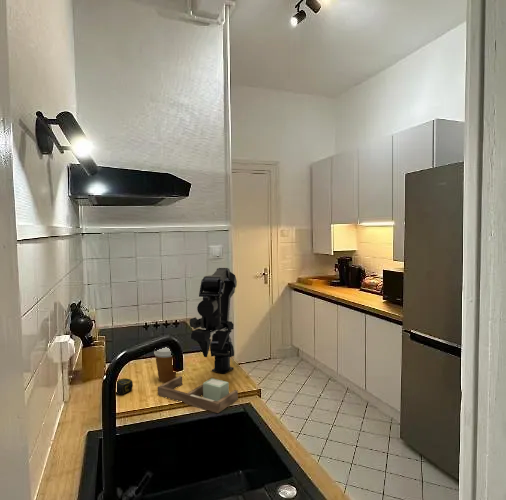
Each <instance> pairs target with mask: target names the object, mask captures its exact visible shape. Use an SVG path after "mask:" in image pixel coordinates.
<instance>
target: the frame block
mask: <svg viewBox="0 0 506 500" xmlns="http://www.w3.org/2000/svg"><path fill="white" fill-rule="evenodd" d="M202 384H203V395H202V397H204V398H207V399H211V400H214V401H219V400H220V399H222V398H223V397H225V396H226V395H228V394H229V393H230V392H229V391H230V390H229V388H230V387H229V384H230V383H229V381H225V380H222V379H218V378H214V377H213V378H212V377H211V378H210V379H207V380H206V381H204V382H203V383H202Z"/></svg>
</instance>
